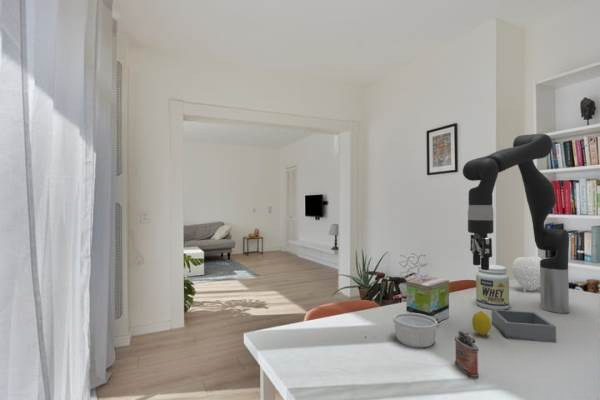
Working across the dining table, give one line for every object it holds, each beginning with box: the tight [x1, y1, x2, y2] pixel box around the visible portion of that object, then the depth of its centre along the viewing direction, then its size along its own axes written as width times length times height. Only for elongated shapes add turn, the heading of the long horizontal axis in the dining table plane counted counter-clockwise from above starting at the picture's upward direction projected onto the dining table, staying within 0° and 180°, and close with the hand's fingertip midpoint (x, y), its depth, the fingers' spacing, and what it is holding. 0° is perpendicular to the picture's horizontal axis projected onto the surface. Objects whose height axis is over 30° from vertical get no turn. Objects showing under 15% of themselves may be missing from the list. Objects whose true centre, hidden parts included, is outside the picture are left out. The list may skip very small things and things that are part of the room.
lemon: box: [471, 310, 492, 336], centre depth 109 cm, size 6×6×8 cm
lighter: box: [454, 329, 480, 379], centre depth 86 cm, size 8×3×10 cm, turn 5°
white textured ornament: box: [511, 255, 543, 293], centre depth 164 cm, size 18×11×17 cm, turn 108°
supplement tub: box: [475, 264, 510, 310], centre depth 140 cm, size 12×12×17 cm
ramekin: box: [393, 312, 438, 348], centre depth 105 cm, size 13×13×7 cm
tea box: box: [405, 276, 450, 323], centre depth 125 cm, size 15×10×15 cm, turn 131°
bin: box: [491, 309, 557, 343], centre depth 112 cm, size 14×14×5 cm
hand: (480, 267), depth 109 cm, fingers open, 8 cm apart
